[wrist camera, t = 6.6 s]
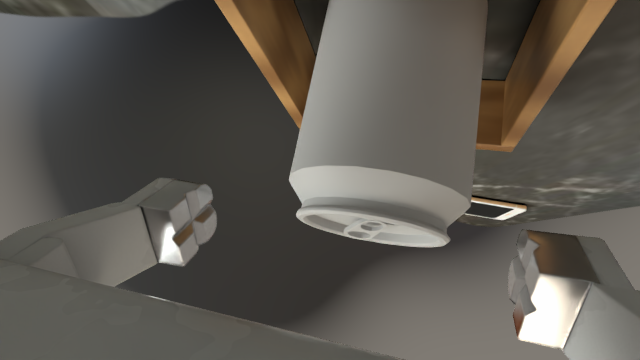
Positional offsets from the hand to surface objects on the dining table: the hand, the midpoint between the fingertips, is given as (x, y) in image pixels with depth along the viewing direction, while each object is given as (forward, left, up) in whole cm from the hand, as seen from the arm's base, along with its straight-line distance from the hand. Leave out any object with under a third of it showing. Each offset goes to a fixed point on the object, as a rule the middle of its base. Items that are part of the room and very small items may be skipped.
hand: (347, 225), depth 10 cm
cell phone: (+34, -28, -13) cm, 45 cm away
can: (+4, -4, -13) cm, 14 cm away
